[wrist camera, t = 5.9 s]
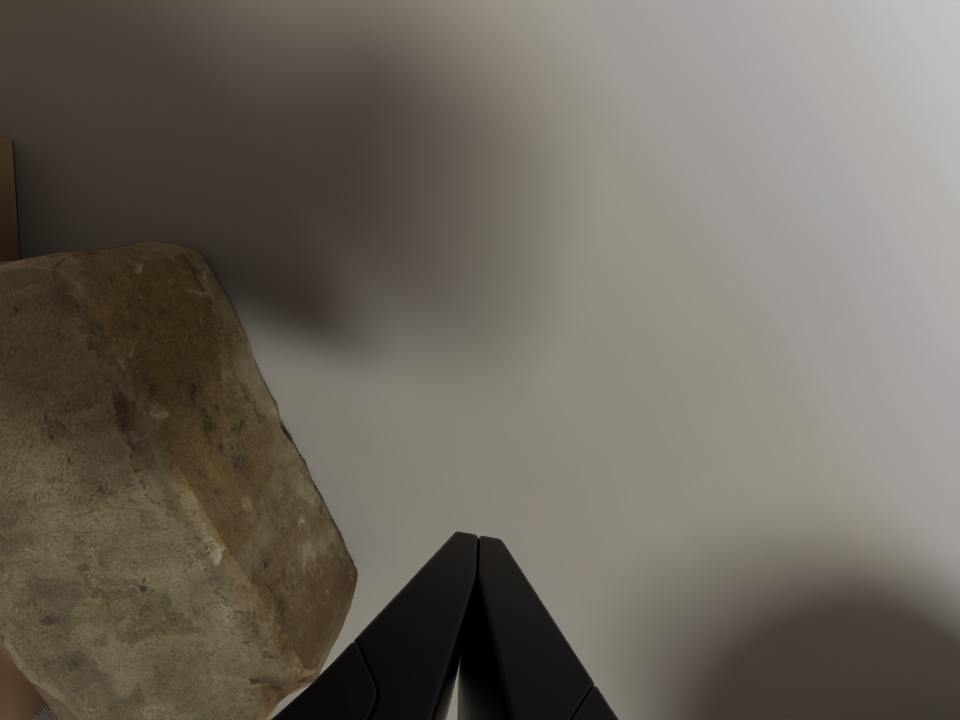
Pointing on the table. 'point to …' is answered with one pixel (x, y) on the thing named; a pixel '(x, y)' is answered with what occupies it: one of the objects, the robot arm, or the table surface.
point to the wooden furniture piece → (3, 687)
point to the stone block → (153, 498)
